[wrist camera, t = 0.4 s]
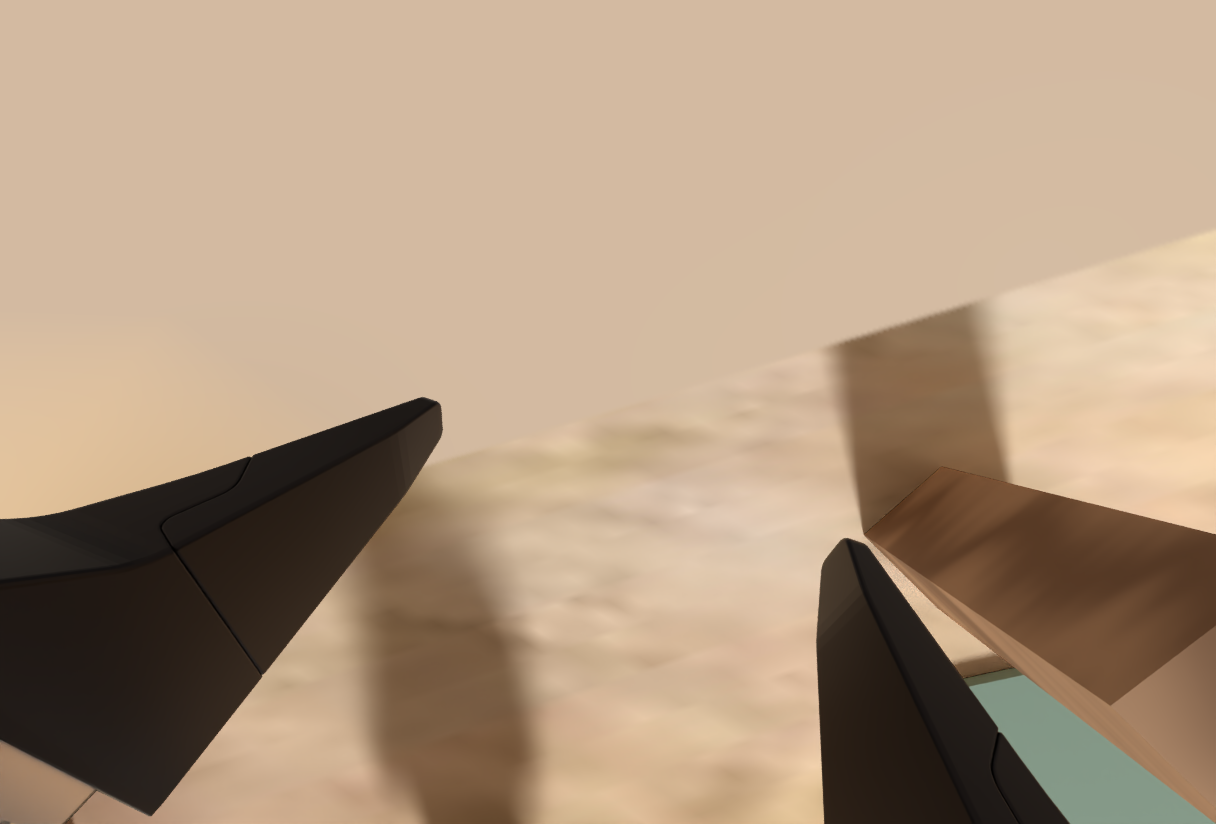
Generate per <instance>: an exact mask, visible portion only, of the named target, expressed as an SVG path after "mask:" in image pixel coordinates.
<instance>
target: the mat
mask: <svg viewBox="0 0 1216 824" xmlns="http://www.w3.org/2000/svg"><path fill="white" fill-rule="evenodd" d="M964 681H965V682H966V683H967V685H968V686H969V688H970V689H971V690H972V692H973V693H974V695H975V696H976V697H977V699H978V700H979V701H980V703H981V704H982V706H983V707H984V708H985V710H986V711H987V713H988V714H989V715H990V717H991V718H992V720H993V721H994V722H995V724H996V725H997V726H998V732H1001V733H1003V735H1004V736H1005V737H1006V739H1007V740H1008V741H1009V743H1010V744H1011V746H1012V747H1013V748H1014V750H1015V751H1016V753H1017V754H1018V755H1019V757H1020V758H1021V759H1022V761H1023V762H1024V764H1025V765H1026V766H1027V768H1028V769H1029V770H1030V772H1031V773H1032V774H1033V776H1034V777H1035V778H1036V780H1037V781H1038V782H1039V784H1040V785H1041V786H1042V788H1043V789H1044V790H1045V792H1046V793H1047V794H1048V796H1049V797H1050V798H1051V800H1052V801H1053V802H1054V804H1055V805H1056V806H1057V807H1058V809H1059V810H1060V811H1061V812H1062V814H1063V815H1064V816H1065V818H1066V819H1067V820H1068V821H1069V823H1070V824H1216V823H1214V822H1213V821H1212V820H1210V819H1209V818H1208V817H1207V816H1205V815H1204V814H1203V813H1201V812H1200V811H1199V810H1198V809H1196V808H1195V807H1194V806H1192V805H1191V804H1190V803H1188V802H1187V801H1186V800H1185V799H1183V798H1182V797H1181V796H1179V795H1178V794H1177V793H1176V792H1174V791H1173V790H1172V789H1170V788H1169V787H1168V786H1167V785H1165V784H1164V783H1163V782H1161V781H1160V780H1159V779H1158V778H1156V777H1155V776H1154V775H1152V774H1151V773H1150V772H1148V771H1147V770H1146V769H1145V768H1143V767H1142V766H1141V765H1139V764H1138V763H1137V762H1136V761H1134V760H1133V759H1132V758H1130V757H1129V756H1128V755H1127V754H1125V753H1124V752H1123V751H1121V750H1120V749H1119V748H1118V747H1116V746H1115V745H1114V744H1112V743H1111V742H1110V741H1108V740H1107V739H1106V738H1105V737H1103V736H1102V735H1101V734H1099V733H1098V732H1097V731H1096V730H1094V729H1093V728H1092V727H1090V726H1089V725H1088V724H1087V723H1085V722H1084V721H1083V720H1081V719H1080V718H1079V717H1078V716H1076V715H1075V714H1074V713H1072V712H1071V711H1070V710H1068V709H1067V708H1066V707H1065V706H1063V705H1062V704H1061V703H1059V702H1058V701H1057V700H1056V699H1054V698H1053V697H1052V696H1050V695H1049V694H1048V693H1047V692H1045V691H1044V690H1043V689H1041V688H1040V687H1039V686H1038V685H1036V684H1035V683H1034V682H1032V681H1031V680H1030V679H1029V678H1027V677H1026V676H1025V675H1023V674H1022V673H1021V672H1019V671H1018V670H1017V669H1016V668H1011V669H1006V670H1001V671H997V672H992V673H987V674H983V675H978V676H973V677H969V678H964Z"/></svg>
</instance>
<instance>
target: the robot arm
mask: <svg viewBox="0 0 1216 824" xmlns="http://www.w3.org/2000/svg"><path fill="white" fill-rule="evenodd" d="M442 430H443V427H442V412H441V405H440V404H439V403H438V402H437V401H434V400H431V399H428V398H425V397H421V398H417V399H414V400H411V401H409V402H406V403H403V404H400V405H397V406H394V407H391V408H388V409H385V410H382V411H380V412H377V413H374V414H371V415H368V416H365V417H362V418H359V419H356V420H353V421H351V422H348V423H345V424H342V425H339V426H336V427H333V428H331V429H327V430H325V431H322V432H319V433H316V434H313V435H311V436H307V437H305V438H301V439H299V440H296V441H293V442H290V443H287V444H284V445H281V446H278V447H275V448H272V449H270V450H267V451H264V452H261V453H258V454H255V455H253V456H252V457H246V458H243V459H240V460H237V461H234V462H232V463H229V464H226V465H223V466H219V467H216V468H213V469H211V470H207V471H204V472H201V473H199V474H195V475H192V476H188V477H185V478H181V479H178V480H175V481H171V482H168V483H165V484H161V485H158V486H154V487H151V488H147V489H143V490H140V491H136V492H133V493H130V494H126V495H123V496H119V497H115V498H111V499H108V500H104V501H101V502H97V503H94V504H90V505H87V506H83V507H80V508H76V509H72V510H68V511H64V512H60V513H55V514H50V515H45V516H38V517H30V518H17V519H0V824H65V823H66V822H67V821H68V820H69V819H70V818H71V817H72V816H73V815H74V814H75V813H76V812H77V811H78V810H79V809H80V808H81V807H82V806H83V805H84V803H85V802H86V801H87V800H88V799H89V798H90V797H91V796H92V795H93V794H94V793H95V792H96V791H98V792H100V793H102V794H105V795H107V796H109V797H111V798H113V799H115V800H117V801H119V802H121V803H123V804H125V805H127V806H129V807H131V808H133V809H135V810H137V811H139V812H141V813H144V814H146V815H148V816H152V815H153V814H154V813H155V811H156V810H157V809H158V808H159V807H160V806H161V805H162V803H163V802H164V801H165V800H166V799H167V797H168V796H169V795H170V793H171V792H172V791H173V790H174V788H175V787H176V786H177V785H178V783H179V782H180V781H181V779H182V778H183V777H184V776H185V774H186V773H187V772H188V771H189V769H190V768H191V767H192V765H193V764H194V763H195V762H196V760H197V759H198V758H199V757H200V755H201V754H202V753H203V752H204V750H205V749H206V748H207V746H208V745H209V744H210V743H211V741H212V740H213V739H214V738H215V736H216V735H217V734H218V732H219V731H220V730H221V729H222V727H223V726H224V725H225V724H226V722H227V721H228V720H229V718H230V717H231V716H232V715H233V713H234V712H235V711H236V710H237V708H238V707H239V706H240V704H241V703H242V702H243V701H244V699H245V698H246V697H247V696H248V694H249V693H250V692H251V691H252V689H253V688H254V687H255V685H256V684H257V683H258V682H259V680H260V679H261V678H262V675H263V674H264V673H265V672H266V671H267V670H268V668H269V667H270V666H271V665H272V663H273V662H274V661H275V660H276V658H277V657H278V656H279V654H280V653H281V652H282V651H283V649H284V648H285V647H286V646H287V644H288V643H289V642H290V640H291V639H292V638H293V637H294V635H295V634H296V633H297V632H298V630H299V629H300V628H301V627H302V625H303V624H304V623H305V621H306V620H307V619H308V618H309V616H310V615H311V614H312V613H313V611H314V610H315V609H316V607H317V606H318V605H319V604H320V602H321V601H322V600H323V599H324V597H325V596H326V595H327V593H328V592H329V591H330V590H331V588H332V587H333V586H334V585H335V583H336V582H337V581H338V579H339V578H340V577H341V576H342V574H343V573H344V572H345V571H346V569H347V568H348V567H349V565H350V564H351V563H352V562H353V560H354V559H355V558H356V557H357V555H358V554H359V553H360V552H361V550H362V549H363V548H364V546H365V545H366V544H367V543H368V541H369V540H370V539H371V538H372V536H373V535H374V534H375V532H376V531H377V530H378V529H379V527H380V526H381V525H382V524H383V522H384V521H385V520H386V518H387V517H388V516H389V515H390V513H391V512H392V511H393V510H394V508H395V507H396V506H397V504H398V503H399V502H400V501H401V499H402V498H403V497H404V495H405V494H406V493H407V491H408V490H409V488H410V487H411V485H412V484H413V482H414V480H415V479H416V477H417V475H418V474H419V472H420V471H421V469H422V467H423V466H424V464H425V463H426V461H427V459H428V458H429V456H430V454H431V453H432V451H433V449H434V448H435V446H436V445H437V443H438V441H439V440H440V438H441V435H442ZM816 644H817V672H818V694H819V717H820V739H821V762H822V784H823V806H824V824H1070V823H1069V821H1068V820H1067V819H1066V818H1065V816H1064V815H1063V814H1062V812H1061V811H1060V810H1059V809H1058V807H1057V806H1056V805H1055V804H1054V802H1053V801H1052V800H1051V798H1050V797H1049V796H1048V794H1047V793H1046V792H1045V790H1044V789H1043V788H1042V786H1041V785H1040V784H1039V782H1038V781H1037V780H1036V778H1035V777H1034V776H1033V774H1032V773H1031V772H1030V770H1029V769H1028V768H1027V766H1026V765H1025V764H1024V762H1023V761H1022V759H1021V758H1020V757H1019V755H1018V754H1017V753H1016V751H1015V750H1014V748H1013V747H1012V746H1011V744H1010V743H1009V741H1008V740H1007V739H1006V737H1005V736H1004V735H1003V733H1001V732H998V726H997V725H996V724H995V722H994V721H993V720H992V718H991V717H990V715H989V714H988V713H987V711H986V710H985V708H984V707H983V706H982V704H981V703H980V701H979V700H978V699H977V697H976V696H975V695H974V693H973V692H972V690H971V689H970V688H969V686H968V685H967V683H966V682H965V681H964V679H963V678H962V676H961V675H960V674H959V672H958V671H957V670H956V668H955V667H954V665H953V664H952V663H951V661H950V660H949V658H948V657H947V656H946V654H945V653H944V652H943V650H942V649H941V647H940V646H939V645H938V643H937V642H936V640H935V639H934V638H933V636H932V635H931V633H930V632H929V631H928V629H927V628H926V627H925V625H924V624H923V622H922V621H921V620H920V618H919V617H918V615H917V614H916V613H915V611H914V610H913V608H912V607H911V606H910V604H909V603H908V602H907V600H906V599H905V597H904V596H903V595H902V593H901V592H900V590H899V589H898V588H897V586H896V585H895V583H894V582H893V581H892V579H891V578H890V577H889V575H888V574H887V572H886V571H885V570H884V568H883V567H882V565H881V564H880V563H879V561H878V560H877V558H876V557H875V556H874V554H873V553H872V552H871V550H870V549H869V548H868V546H867V545H865V544H864V543H861V542H858V541H855V540H852V539H849V538H844V539H842V540H841V541H840V542H839V543H838V544H837V545H836V547H835V548H834V549H833V550H832V552H831V553H830V554H829V555H828V557H827V558H826V559H825V561H824V563H823V565H822V570H821V582H820V595H819V608H818V622H817V639H816Z"/></svg>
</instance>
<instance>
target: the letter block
mask: <svg viewBox="0 0 1216 824" xmlns="http://www.w3.org/2000/svg"><path fill="white" fill-rule="evenodd" d="M864 536H865V537H866V538H867V539H868V540H870V541H871V542H872V543H873V544H874V545H875V546H876V547H877V548H878V549H879V550H880V551H881V552H882V553H883V554H884V555H885V556H886V557H887V558H888V559H889V560H890V561H891V562H892V563H893V564H894V565H895V566H896V567H897V568H898V569H899V570H900V571H901V572H902V573H903V574H904V575H905V576H906V577H907V578H908V579H909V580H910V581H911V582H912V583H913V584H914V585H915V586H916V587H917V588H918V589H919V590H920V591H921V592H922V593H923V594H924V595H925V596H926V597H927V598H928V599H929V600H930V601H931V602H932V603H933V604H934V605H935V606H936V607H937V608H938V609H939V610H941V611H942V612H943V613H945V614H946V615H947V616H949V617H950V618H951V619H952V620H954V621H955V622H956V623H958V624H959V625H960V626H961V627H963V628H964V629H965V630H967V631H968V632H969V633H970V634H972V635H973V636H974V637H976V638H977V639H978V640H979V641H981V642H982V643H983V644H985V645H986V646H987V647H989V648H990V649H991V650H992V651H994V652H995V653H996V654H998V655H999V656H1000V657H1001V658H1003V659H1004V660H1005V661H1007V662H1008V663H1009V664H1010V665H1012V666H1013V667H1014V668H1016V669H1017V670H1018V671H1019V672H1021V673H1022V674H1023V675H1025V676H1026V677H1027V678H1029V679H1030V680H1031V681H1032V682H1034V683H1035V684H1036V685H1038V686H1039V687H1040V688H1041V689H1043V690H1044V691H1045V692H1047V693H1048V694H1049V695H1050V696H1052V697H1053V698H1054V699H1056V700H1057V701H1058V702H1059V703H1061V704H1062V705H1063V706H1065V707H1066V708H1067V709H1068V710H1070V711H1071V712H1072V713H1074V714H1075V715H1076V716H1078V717H1079V718H1080V719H1081V720H1083V721H1084V722H1085V723H1087V724H1088V725H1089V726H1090V727H1092V728H1093V729H1094V730H1096V731H1097V732H1098V733H1099V734H1101V735H1102V736H1103V737H1105V738H1106V739H1107V740H1108V741H1110V742H1111V743H1112V744H1114V745H1115V746H1116V747H1118V748H1119V749H1120V750H1121V751H1123V752H1124V753H1125V754H1127V755H1128V756H1129V757H1130V758H1132V759H1133V760H1134V761H1136V762H1137V763H1138V764H1139V765H1141V766H1142V767H1143V768H1145V769H1146V770H1147V771H1148V772H1150V773H1151V774H1152V775H1154V776H1155V777H1156V778H1158V779H1159V780H1160V781H1161V782H1163V783H1164V784H1165V785H1167V786H1168V787H1169V788H1170V789H1172V790H1173V791H1174V792H1176V793H1177V794H1178V795H1179V796H1181V797H1182V798H1183V799H1185V800H1186V801H1187V802H1188V803H1190V804H1191V805H1192V806H1194V807H1195V808H1196V809H1198V810H1199V811H1200V812H1201V813H1203V814H1204V815H1205V816H1207V817H1208V818H1209V819H1210V820H1212V821H1213V822H1214V823H1216V534H1212V533H1208V532H1204V531H1200V530H1196V529H1192V528H1188V527H1184V526H1179V525H1175V524H1171V523H1167V522H1163V521H1159V520H1155V519H1151V518H1147V517H1143V516H1139V515H1135V514H1131V513H1127V512H1123V511H1119V510H1115V509H1111V508H1107V507H1103V506H1099V505H1095V504H1091V503H1087V502H1083V501H1078V500H1074V499H1070V498H1066V497H1062V496H1058V495H1054V494H1050V493H1046V492H1042V491H1038V490H1034V489H1030V488H1026V487H1022V486H1018V485H1014V484H1010V483H1006V482H1002V481H998V480H994V479H990V478H986V477H982V476H978V475H973V474H969V473H965V472H961V471H957V470H953V469H949V468H945V467H941V468H939V469H938V470H937V471H936V472H935V473H934V474H933V475H931V476H930V477H929V478H928V479H927V480H926V481H925V482H923V483H922V484H921V485H920V486H919V487H918V488H917V489H915V490H914V491H913V492H912V493H911V494H910V495H909V496H907V497H906V498H905V499H904V500H903V501H902V502H901V503H899V504H898V505H897V506H896V507H895V508H894V509H893V510H891V511H890V512H889V513H888V514H887V515H886V516H885V517H883V518H882V519H881V520H880V521H879V522H878V523H877V524H876V525H874V526H873V527H872V528H871V529H870V530H869V531H868V532H866V533H865V534H864Z"/></svg>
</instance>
